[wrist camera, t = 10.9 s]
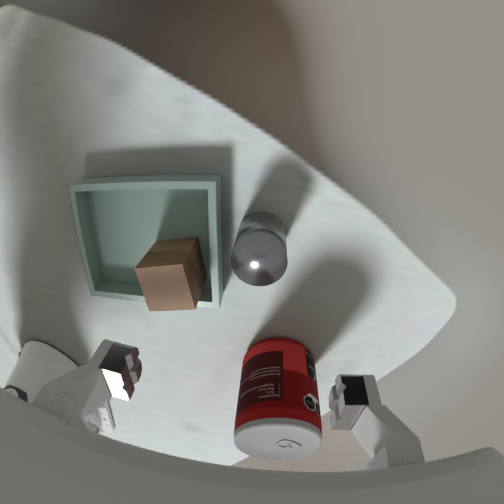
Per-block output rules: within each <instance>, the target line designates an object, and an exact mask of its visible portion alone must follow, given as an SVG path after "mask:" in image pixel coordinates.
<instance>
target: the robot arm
mask: <svg viewBox="0 0 504 504" xmlns="http://www.w3.org/2000/svg"><path fill="white" fill-rule="evenodd" d="M138 355H139V351H138V348H136V347H132V346H129V345H125V344H121V343H118V342H113V341H110V340H106V339H105V340H103V341H102V342H101V344H100V346H99V347H98V349H97V350H96V352H95V353H94V355H93V357H92V358H91V360H90V361H89V363H88V364H84V365H82V366H80V367H78V366H77V365H76V364H75V363H74V362H73V361H71V360H70V359H69V358H68V357H66V356H65V355H64V354H62V353H61V352H59V351H58V350H56V349H54V348H53V347H51V346H49V345H47V344H44V343H42V342H38V341H28V342H26V343H25V344H24V346H23V349H22V352H21V354H20V357H19V358H18V360H17V363H16V365H15V367H14V369H13V371H12V373H11V375H10V377H9V379H8V381H7V383H6V385H5V387H4V389H2V388H0V504H504V455H502V454H501V453H500V452H499V451H497V450H496V449H494V448H493V447H486V448H481V449H478V450H474V451H471V452H468V453H464V454H460V455H456V456H451V457H447V458H443V459H438V460H433V461H428V462H425V460H424V456H423V452H422V448H421V444H420V440H419V438H418V437H417V436H416V435H415V434H414V433H413V432H412V431H411V430H410V429H408V427H407V426H406V425H405V424H404V423H403V422H402V421H401V420H400V419H399V418H398V417H396V416H395V415H394V414H393V413H392V412H391V411H390V410H389V409H388V408H387V407H386V406H385V405H382V404H381V400H380V396H379V392H378V388H377V384H376V380H375V377H374V375H349V374H338V376H337V377H336V379H335V383H336V385H334V386H333V387H332V389H331V391H330V396H329V408H330V409H331V410H332V411H333V412H332V414H331V416H330V420H331V429H333V430H351V432H352V433H353V435H354V436H355V437H356V439H357V440H358V442H359V443H360V444H361V446H362V447H363V448H364V450H365V451H366V452H367V454H368V455H369V456H370V458H371V459H372V460H371V461H370V462H369V463H368V464H367V465H366V467H364V468H363V470H359V471H341V472H340V471H339V472H293V471H274V470H261V469H250V468H242V467H234V466H226V465H220V464H213V463H207V462H202V461H196V460H191V459H186V458H181V457H177V456H172V455H168V454H164V453H160V452H156V451H152V450H148V449H145V448H141V447H138V446H134V445H131V444H128V443H124V442H121V441H118V440H115V439H112V438H109V437H106V436H103V435H101V434H99V432H103V433H112V432H113V431H114V429H115V426H114V423H113V419H112V415H111V411H110V408H109V404H108V400H109V399H110V398H111V397H112V396H113V397H116V398H120V399H124V400H128V401H130V399H131V396H132V394H133V392H134V390H135V389H134V385H133V384H135V383H137V382H138V381H139V378H140V376H141V371H142V364H141V361H140V360H139V359H138Z"/></svg>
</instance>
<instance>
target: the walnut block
mask: <svg viewBox="0 0 504 504" xmlns="http://www.w3.org/2000/svg"><path fill="white" fill-rule="evenodd" d="M134 269H135V272H136V275H137V278H138V281H139V284H140V286H141V289H142V292H143V295H144V297H145V300H146V303H147V306H148V308H149V311H169V310H191V309H196V306H197V303H198V300H199V298H200V295H201V292H202V289H203V287H204V284H205V281H206V279H207V273H206V269H205V265H204V261H203V257H202V252H201V248H200V244H199V239H198V236H196V237H188V238H179V239H171V240H163V241H156V242H155V243H154V244H153V245H152V247H151V248H150V249H149V250H148V252H147V253H146V254H145V256H144V257H143V258H142V259H141V261H140V262H139V263H138V264H137V266H136V267H135V268H134Z"/></svg>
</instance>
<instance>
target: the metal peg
mask: <svg viewBox="0 0 504 504" xmlns="http://www.w3.org/2000/svg"><path fill="white" fill-rule="evenodd" d="M231 266H232V269H233V271H234V273H235V274H236V276H237V277H238V278H239V279H241V280H242V281H243V282H245V283H247V284H250V285H254V286H266V285H270V284H272V283H274V282H276V281H277V280H279V279H280V278H281V277H282V276H283V274H284V273H285V271H286V268H287V249H286V237H285V229H284V226H283V224H282V223H281V221H280V220H279V219H278V218H277V217H275V216H274V215H272V214H269V213H265V212H258V213H253V214H251V215H249V216H247V217H246V218H245V219H244V220H243V221H242V223H241V224H240V227H239V230H238V233H237V237H236V241H235V244H234V248H233V251H232V255H231Z"/></svg>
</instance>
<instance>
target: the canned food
mask: <svg viewBox="0 0 504 504" xmlns="http://www.w3.org/2000/svg"><path fill="white" fill-rule="evenodd" d="M234 444H235V446H236V447H237V448H238V449H239V450H240V451H242V452H243V453H245V454H247V455H249V456H252V457H256V458H260V459H265V460H276V461H282V460H292V459H297V458H301V457H304V456H307V455H310V454H312V453H313V452H315V451H316V450H318V448H319V447H320V446H321V444H322V426H321V415H320V406H319V397H318V388H317V380H316V371H315V363H314V359H313V357H312V355H311V353H310V351H309V350H308V349H307V348H306V347H305V346H304V345H303V344H301V343H299V342H298V341H295V340H292V339H288V338H278V337H277V338H268V339H264V340H262V341H259V342H257V343H255V344H254V345H253V346H252V347H251V348H249V350H248V352H247V353H246V355H245V357H244V360H243V365H242V373H241V381H240V389H239V396H238V404H237V412H236V419H235V429H234Z"/></svg>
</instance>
